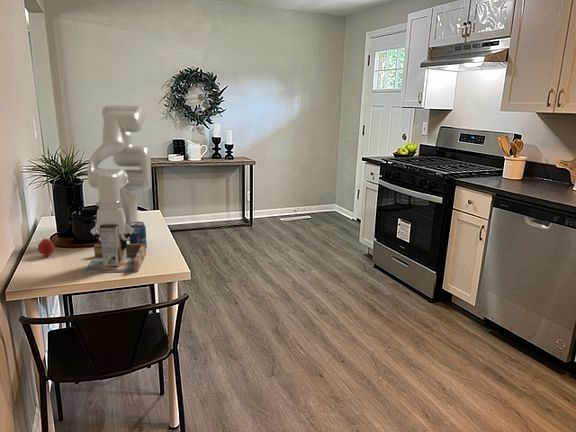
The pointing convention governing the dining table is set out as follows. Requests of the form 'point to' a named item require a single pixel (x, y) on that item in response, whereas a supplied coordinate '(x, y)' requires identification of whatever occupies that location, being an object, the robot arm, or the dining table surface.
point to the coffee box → (111, 245)
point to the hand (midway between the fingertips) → (114, 248)
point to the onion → (46, 247)
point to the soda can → (138, 233)
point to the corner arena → (130, 263)
